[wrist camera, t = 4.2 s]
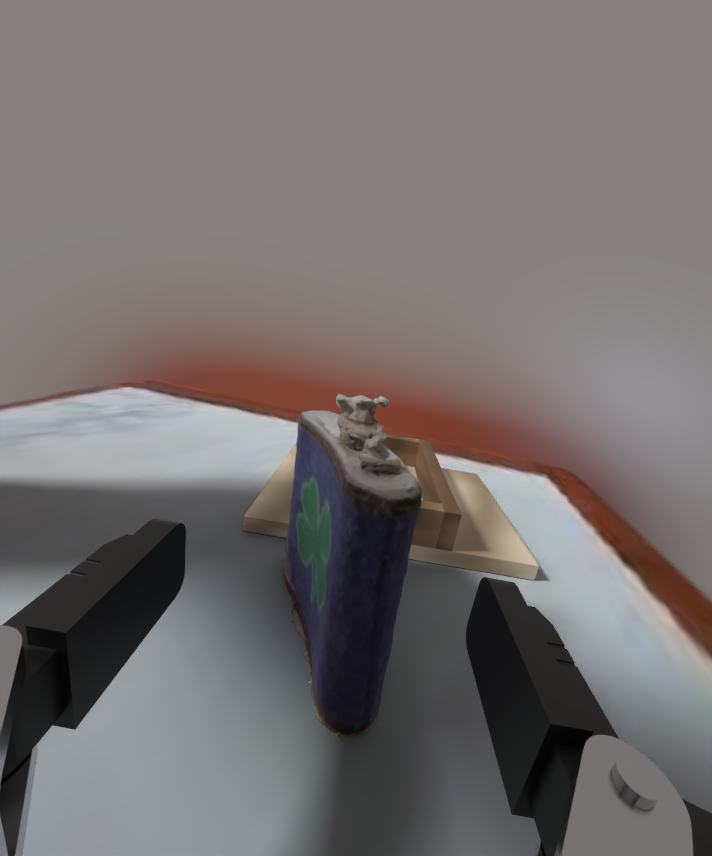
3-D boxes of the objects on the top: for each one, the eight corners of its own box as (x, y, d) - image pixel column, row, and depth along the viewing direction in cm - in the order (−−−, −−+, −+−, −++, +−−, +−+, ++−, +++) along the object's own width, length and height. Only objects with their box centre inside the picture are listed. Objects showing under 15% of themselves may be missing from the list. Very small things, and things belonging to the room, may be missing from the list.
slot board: (242, 530, 22) (246, 478, 21) (294, 453, 35) (298, 419, 34) (534, 580, 21) (551, 529, 20) (474, 483, 35) (483, 450, 34)
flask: (277, 563, 19) (298, 369, 16) (328, 558, 21) (357, 375, 18) (319, 753, 11) (378, 435, 8) (400, 727, 12) (478, 439, 9)
